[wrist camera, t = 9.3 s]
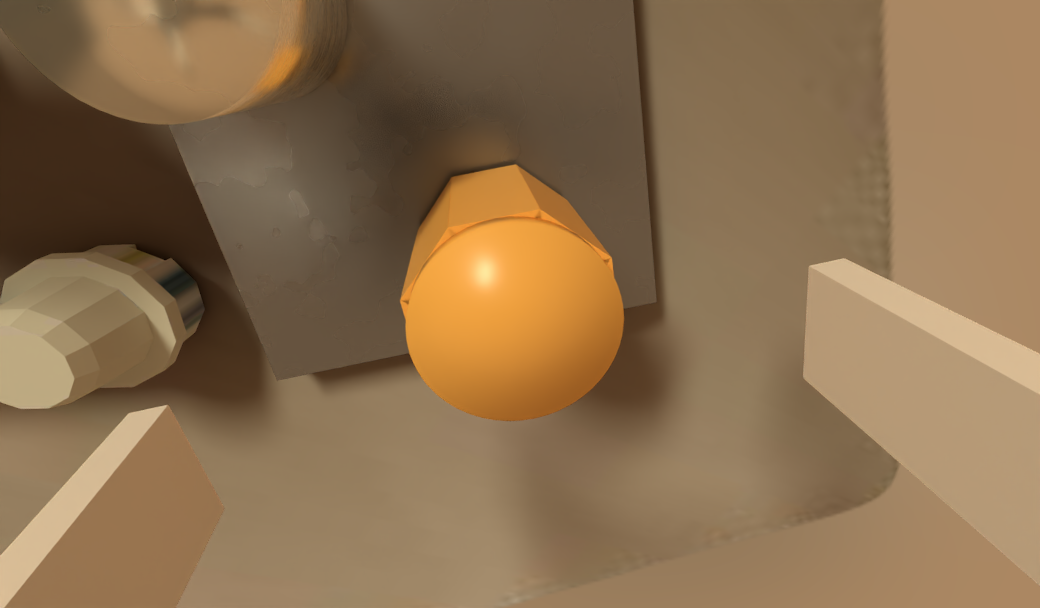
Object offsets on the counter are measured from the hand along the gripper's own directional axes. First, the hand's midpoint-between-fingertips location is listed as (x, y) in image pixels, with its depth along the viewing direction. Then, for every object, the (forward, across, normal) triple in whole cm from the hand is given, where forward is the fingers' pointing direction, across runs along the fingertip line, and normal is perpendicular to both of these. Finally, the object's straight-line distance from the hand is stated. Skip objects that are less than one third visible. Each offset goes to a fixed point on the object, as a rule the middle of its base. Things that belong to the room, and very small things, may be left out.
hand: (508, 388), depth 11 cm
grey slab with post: (+13, -1, +4) cm, 13 cm away
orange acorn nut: (+10, +1, 0) cm, 10 cm away
